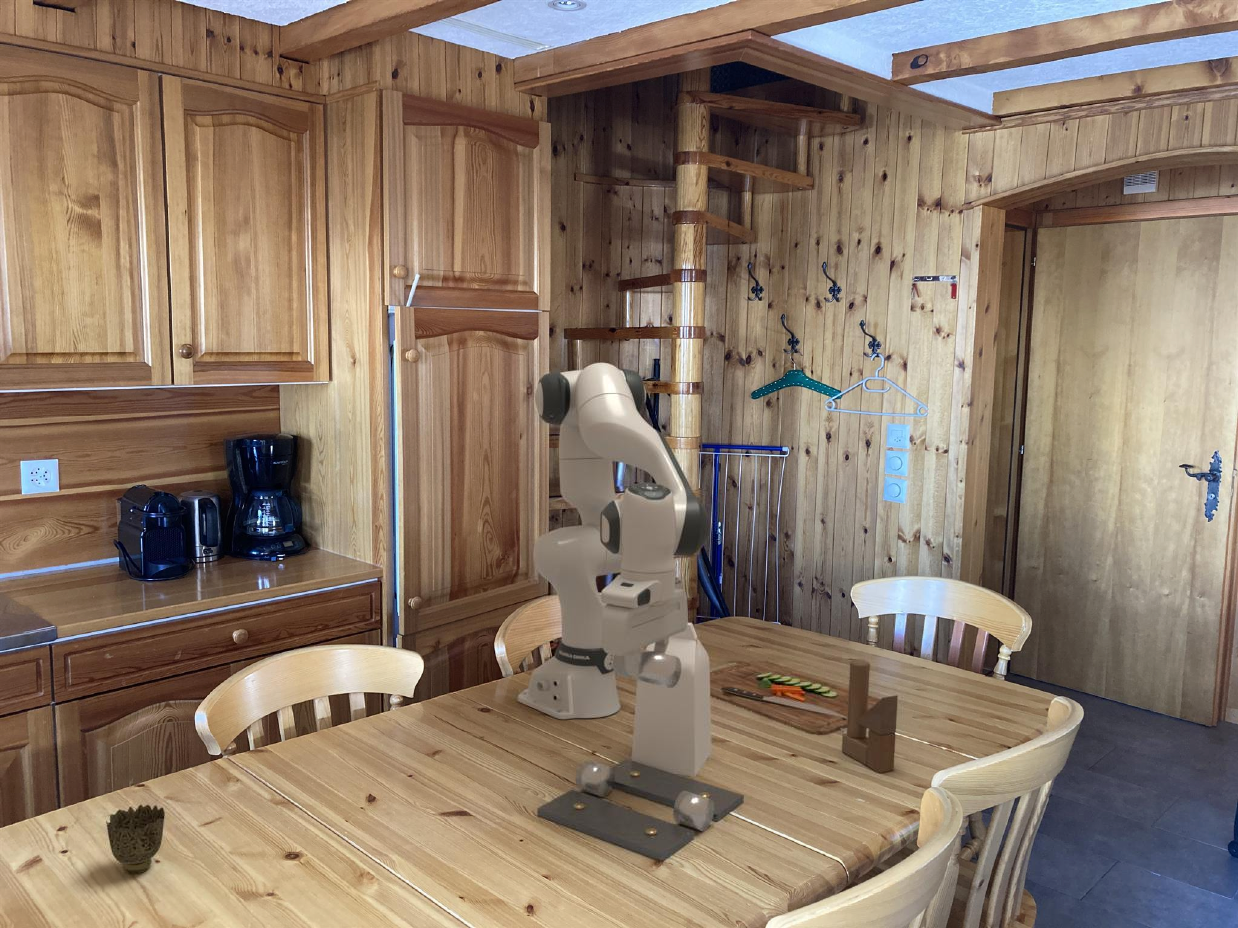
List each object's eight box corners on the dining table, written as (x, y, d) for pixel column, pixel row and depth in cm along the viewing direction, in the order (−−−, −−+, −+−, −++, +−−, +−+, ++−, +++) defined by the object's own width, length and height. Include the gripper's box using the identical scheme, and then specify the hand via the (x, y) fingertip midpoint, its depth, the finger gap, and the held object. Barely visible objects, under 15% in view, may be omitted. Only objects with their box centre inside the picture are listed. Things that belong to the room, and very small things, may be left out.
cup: (121, 856, 144) (119, 803, 143) (173, 855, 145) (172, 802, 144) (99, 883, 137) (97, 828, 136) (154, 882, 138) (152, 827, 137)
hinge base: (537, 815, 160) (537, 785, 159) (626, 765, 180) (627, 738, 180) (662, 861, 146) (663, 829, 145) (743, 801, 166) (744, 773, 166)
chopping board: (908, 714, 211) (908, 700, 211) (829, 743, 194) (830, 728, 193) (749, 662, 245) (750, 650, 245) (670, 683, 228) (671, 670, 227)
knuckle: (612, 679, 161) (612, 649, 161) (630, 671, 166) (630, 642, 165) (664, 691, 156) (664, 660, 155) (681, 683, 160) (681, 652, 159)
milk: (631, 766, 180) (634, 626, 177) (650, 743, 191) (654, 611, 188) (694, 776, 176) (699, 633, 173) (711, 753, 187) (715, 618, 184)
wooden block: (878, 773, 179) (883, 677, 177) (840, 752, 188) (845, 659, 186) (894, 770, 180) (899, 674, 178) (856, 749, 190) (860, 657, 188)
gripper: (666, 572, 169) (664, 651, 171) (594, 593, 153) (593, 681, 154) (698, 577, 166) (696, 658, 167) (627, 599, 149) (626, 689, 150)
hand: (646, 669), depth 160 cm, fingers closed on knuckle, 5 cm apart
